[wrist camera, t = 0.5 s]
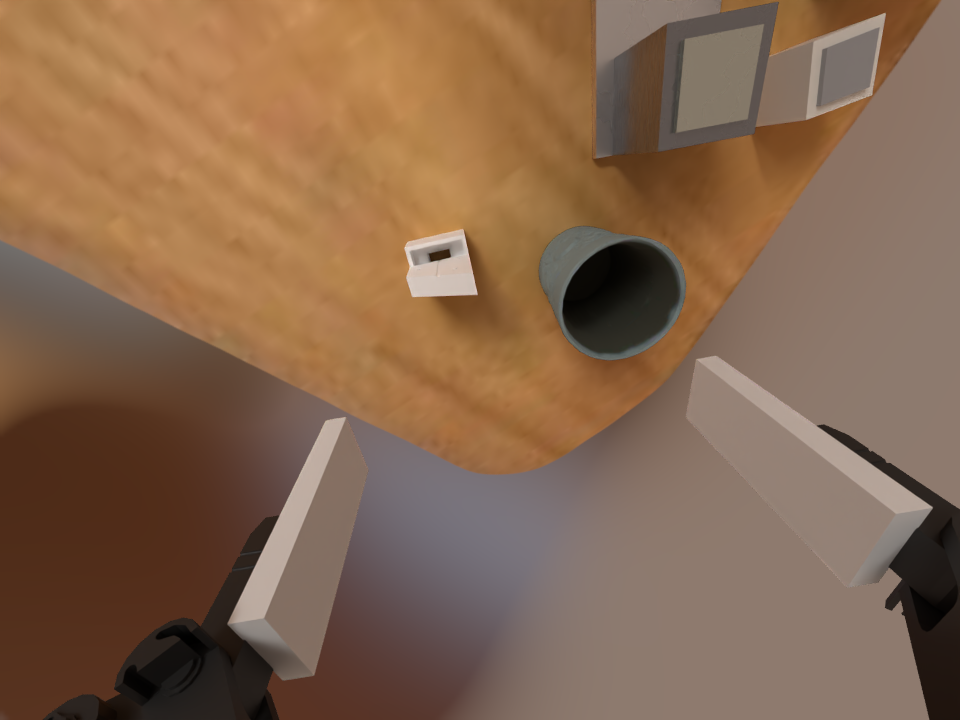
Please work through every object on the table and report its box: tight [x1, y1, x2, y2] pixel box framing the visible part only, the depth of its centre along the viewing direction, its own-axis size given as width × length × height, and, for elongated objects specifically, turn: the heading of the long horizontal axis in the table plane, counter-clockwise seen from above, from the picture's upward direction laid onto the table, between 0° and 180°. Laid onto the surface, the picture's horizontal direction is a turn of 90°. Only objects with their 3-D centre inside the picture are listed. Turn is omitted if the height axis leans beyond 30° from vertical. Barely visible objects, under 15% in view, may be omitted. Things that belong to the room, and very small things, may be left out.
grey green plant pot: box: [539, 226, 686, 360], centre depth 33 cm, size 10×10×12 cm
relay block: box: [756, 13, 886, 127], centre depth 29 cm, size 5×5×6 cm
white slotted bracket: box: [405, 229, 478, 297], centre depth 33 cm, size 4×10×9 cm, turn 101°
